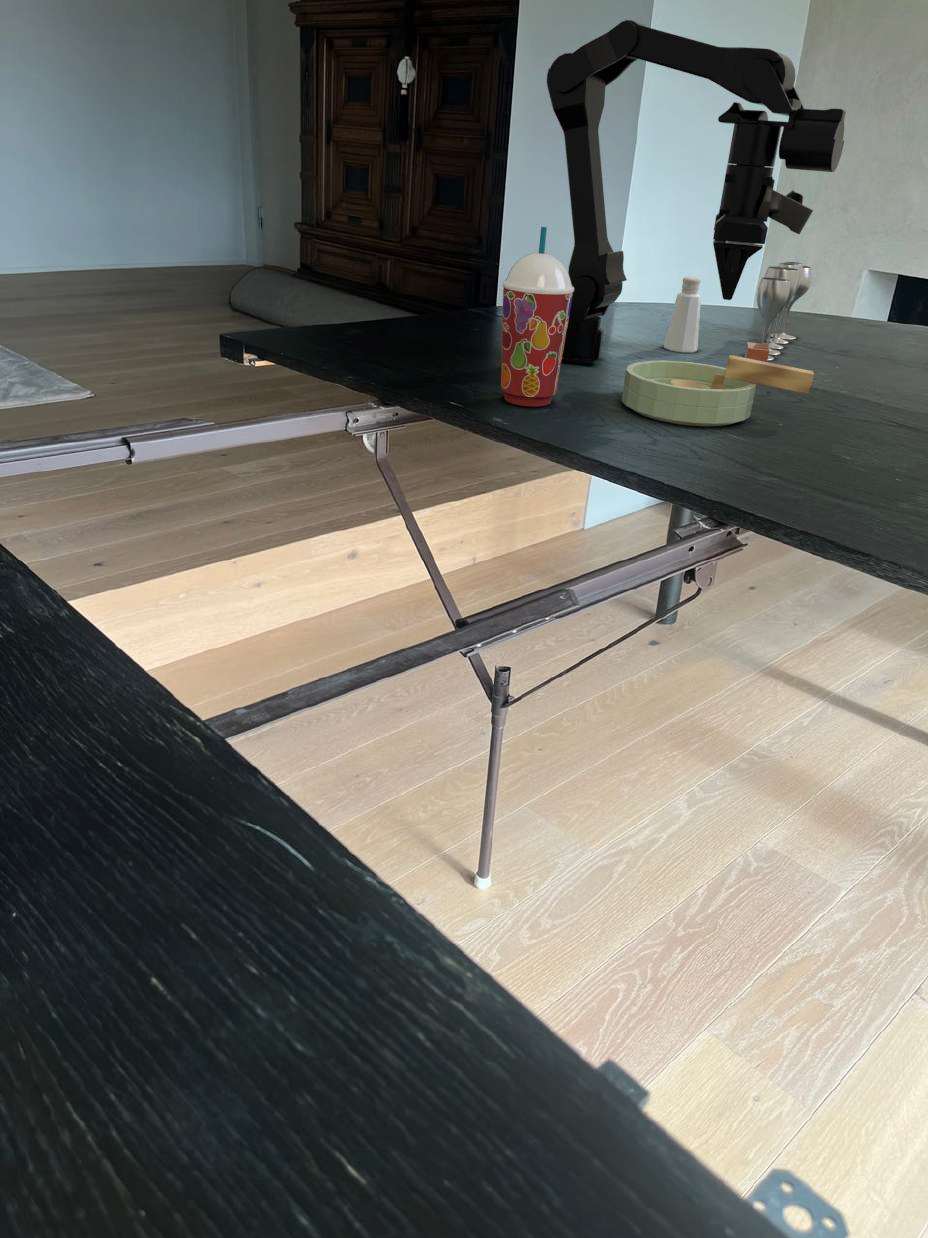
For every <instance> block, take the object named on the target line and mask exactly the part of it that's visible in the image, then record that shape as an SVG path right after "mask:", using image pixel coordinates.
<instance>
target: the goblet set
mask: <svg viewBox="0 0 928 1238" xmlns="http://www.w3.org/2000/svg"><path fill="white" fill-rule="evenodd" d="M812 282H813V273H812V267H811V266H807V265H804V263H803V262H798V261H784V262H779V263H778V264H777V266H776V265H775V266H774V265H769V266H767V269H766V271H765V275H764V276H763V277H762V276H761V279H760V281H759V284H758V287H757V291H756V292H757V293H756V303H757V308H758V310H759V313H760V315H761V318H762V323H763V326H762V327H763V329H762V337H761V344H768V347H769V355H768V360H767V361H773V360H774V359H775V358H774V357H773V356H778V355H779V356H780V355H781V351H779V350H783V349H784V346H782V345H787V344H789V343H790V342H789V341H788V340H791V341H793V340H796V338H797V337H796V336H793V335H791V334H790V335H789V334H786V333H785V331H786V326H787V322H788V317H789V315H790V311H791V309H792V307H793V305H794V304H795V303H796V302H797V301H798V300H799V299H800V298H801V297H803V296H804V295H805V294H806V293H808V291H809V290H810V288H811V286H812ZM783 321H784V322H783ZM778 325H779V326H778ZM773 327H774V329H773ZM777 329H778V330H777ZM781 330H782V331H781ZM772 331H773V333H772ZM776 332H777V333H776ZM766 336H767V337H766ZM765 341H766V342H765Z"/></svg>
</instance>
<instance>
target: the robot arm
mask: <svg viewBox="0 0 928 1238" xmlns="http://www.w3.org/2000/svg"><path fill="white" fill-rule="evenodd" d="M637 60H641V61H645V62H648V63H651V64H654V65H657V66H662V67H665V68H668V69H672V70H676V71H679V72H682V73H686V74H689V75H693V76H696V77H700V78H702V79H707V80H709V81H710V82H713V83H714V84H716V85H717V86H719V87H721V88H723V89H724V90H726V91H727V92H729V93H731V94H733V95H735V96H737V97H739V98H741V99H743V100H744V101H746V102H749V103H751V104H755V105H760V106H764V107H766V108H767V109H768V110H769V111H770V112H771V113H773V114H776V115H781V116H785V117H788V120H787V121H777V120H769V116H768V112H767V111H766V110H761V109H759V110H757V109H744V107H743V106H742V103H741V102H737V101H735V102H732V104H731V106H729V108H728V109H727V110H726V111H724V112H723V113H722V114H720V115H719V116H718V118H717V121H718V122H719V123H722V124H728V125H733V131H732V135H731V140H730V141H731V142H730V147H729V153H728V159H727V165H726V169H725V170H726V171H725V175H724V182H723V186H722V187H723V188H722V194H721V199H720V205H719V209H718V213H717V214H716V215H715V221H714V225H713V226H714V227H713V236H712V240H713V241H712V245H713V251H714V257H715V261H716V262H715V263H716V267H717V272H718V278H719V279H718V280H719V285H720V290H721V297H722V299H723V300H724V301H731V300H732V299H733V297H734V294H735V292H736V289H737V287H738V285H739V282H740V279H741V277H742V274H743V271H744V270H745V266H746V264H747V261H748V260H749V259H750V258H751V257H752V256H753V255H755V254H756V253H757V252H758V251H761V250H762V249H763V248H764V247H763V245H765V244H766V239H767V234H768V230H769V227H768V226H767V224H766V223H767V222H768V218H769V219H770V220H773V221H774V222H777V223H779V224H781V225H783V226H785V227H786V228H788V229H789V230H790V231H791V232H793V233H795V234H797V235H800V234H801V232H802V231H803V229H804V228H805V226H806V224H807V222H808V220H809V219H810V217H811V216H812V214H813V212H814V210H813V209H812V208H810V207H808V206H806V205H805V204H803V202H804V195H803V194H801V193H799V192H797V191H795V190H793V189H792V190H790V191H789V192H788V193H787V194H782V193H780V192H778V191H776V190H775V189H774V187H775V179H774V176H773V173H774V167H775V163H776V159H777V153H778V158H779V160H784V166H785V167H786V168H785V169H787V170H788V169H789V170H800V171H813V172H823V173H824V172H825V173H834V172H836V169H838V166H839V163H840V160H841V157H842V153H843V150H844V145H845V139H844V135H845V119H846V113H847V111H846V110H845V109H843V108H828V109H813V108H812V109H811V108H805V107H804V105H803V101H802V100H801V98H800V96H799V94H798V92H797V89H796V86H795V81H796V68H795V65H794V63H793V61H792V59H790V58H789V56H787V55H785V54H783V53H780V52H778V51H775V50H773V49H771V48H762V47H744V46H743V47H742V46H739V47H738V46H736V47H733V46H732V47H730V46H729V47H726V46H717V45H715V44H714V45H713V44H710V43H706V42H703V41H699V40H696V39H691V38H688V37H685V36H681V35H677V34H675V33H674V34H673V33H670V32H667V31H663V30H659V29H655V28H651V27H648V26H646V25H645V24H644V23H643V24H642V23H640V22H637V21H636V20H635V21H634V20H632V19H625V20H622V21H620V22H619V23H618V24H617V25H615V26H614V27H613V28H611V29H610V30H608V31H607V32H606V33H603V34H602V35H600V36H598V37H596V38H594V39H592V40H590V41H588V42H587V43H585V44H583V45H581V46H579V48H577V49H576V50H574V52H566V53H562V54H561V55H558V57H557V58H556V59H555V60H553V62H552V63H551V65H550V67H549V68H548V70H547V73H546V86H547V91H548V95H549V99H550V103H551V106H552V110H553V112H554V115H555V117H556V119H557V121H558V123H559V125H560V127H561V130H562V132H563V136H564V137H563V138H564V146H565V147H564V148H565V158H566V159H565V160H566V168H567V179H568V189H569V200H570V209H571V221H572V230H573V249H572V252H571V256H570V260H569V263H568V270H567V272H568V274H569V277H570V281H571V285H572V286H573V287H574V292H573V296H572V302H571V308H570V314H569V320H568V326H567V332H566V337H565V343H564V349H563V355H562V361H561V363H568V364H577V365H585V366H586V365H587V366H594V365H595V363H596V362H597V361H598V360H599V359H600V357H601V353H602V348H603V347H602V345H603V339H604V331H605V329H604V328H603V327H601V323H602V317H604V316H605V315H606V314H607V311H608V309H609V307H610V305H612V304H613V303H614V302H616V301H617V300H618V298H619V297H620V295H621V294H622V291H623V282H626V281H628V279H627V277H626V275H625V270H624V261H625V260H624V259H625V255H624V250H617V251H614V250H613V247H612V245H611V243H610V241H609V238H608V229H607V228H608V227H607V217H606V206H605V205H606V204H605V193H604V181H603V170H602V158H601V157H602V156H601V148H600V145H601V144H600V135H599V127H600V123H601V118H602V115H603V111H604V107H605V99H606V88H607V86H609V85H610V84H612V83H613V82H614V81H616V80H617V79H618V78H620V76H621V75H622V74H624V72H625V71H626V70H627V69H628V68H629V67H630V66H632V64H633V63H635V62H636V61H637ZM782 128H783V129H782Z"/></svg>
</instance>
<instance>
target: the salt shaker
mask: <svg viewBox="0 0 928 1238" xmlns="http://www.w3.org/2000/svg"><path fill="white" fill-rule="evenodd" d="M701 282H702V280H701V279H700V278H699V277H694V276H685V277H683V278H682V284H681V292H679V293H677V295H676V298H675V300H674V301H675V302H674V305H673V309H672V313H671V317H670V319H669V324H668V327H667V332H666V336H665V340H664V343H663V348H664V349H665V350H667V351H670V352H677V353H693V354H694V353H695V352H697V351H698V347H699V333H700V317H701V305H702V301H701V300H702V296H701V295H700V294H698V293H699V289H700V284H701Z"/></svg>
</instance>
